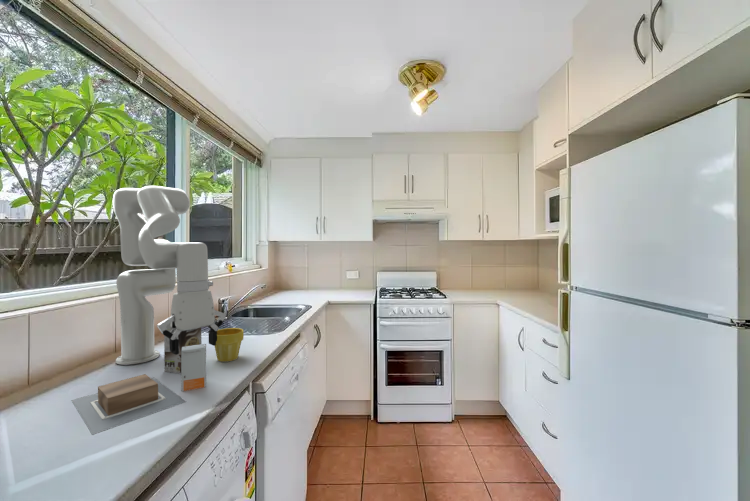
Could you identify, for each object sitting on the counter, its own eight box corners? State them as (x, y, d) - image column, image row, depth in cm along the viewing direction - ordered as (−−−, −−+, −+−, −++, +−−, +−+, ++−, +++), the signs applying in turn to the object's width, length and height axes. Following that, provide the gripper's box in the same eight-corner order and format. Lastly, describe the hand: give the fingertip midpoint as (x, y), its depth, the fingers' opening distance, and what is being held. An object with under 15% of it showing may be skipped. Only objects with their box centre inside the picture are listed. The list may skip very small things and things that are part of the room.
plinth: (98, 402, 81) (97, 386, 80) (145, 388, 88) (145, 374, 88) (108, 415, 74) (107, 398, 74) (158, 399, 82) (158, 383, 82)
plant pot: (249, 354, 118) (249, 328, 118) (232, 364, 108) (232, 335, 108) (224, 353, 120) (223, 326, 120) (205, 363, 110) (204, 334, 110)
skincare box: (181, 395, 86) (180, 350, 86) (182, 389, 90) (181, 346, 90) (206, 390, 89) (206, 347, 89) (206, 384, 93) (206, 343, 93)
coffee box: (181, 376, 99) (180, 324, 99) (163, 374, 100) (162, 323, 100) (202, 365, 108) (202, 317, 108) (186, 364, 109) (185, 316, 109)
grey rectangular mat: (71, 404, 82) (71, 399, 82) (153, 380, 96) (153, 376, 96) (92, 439, 67) (92, 433, 67) (186, 405, 81) (186, 400, 81)
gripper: (218, 283, 98) (219, 339, 98) (151, 289, 85) (153, 354, 85) (230, 284, 93) (231, 343, 94) (162, 291, 80) (163, 360, 80)
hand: (194, 348), depth 89 cm, fingers open, 9 cm apart
